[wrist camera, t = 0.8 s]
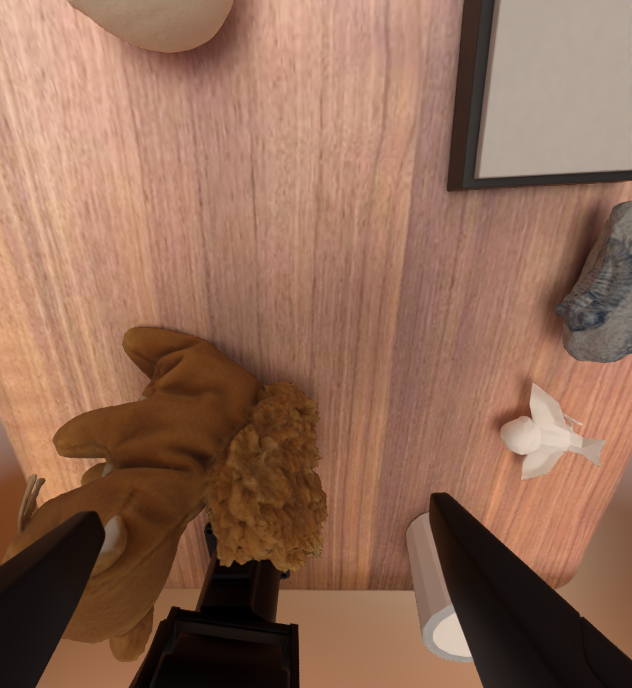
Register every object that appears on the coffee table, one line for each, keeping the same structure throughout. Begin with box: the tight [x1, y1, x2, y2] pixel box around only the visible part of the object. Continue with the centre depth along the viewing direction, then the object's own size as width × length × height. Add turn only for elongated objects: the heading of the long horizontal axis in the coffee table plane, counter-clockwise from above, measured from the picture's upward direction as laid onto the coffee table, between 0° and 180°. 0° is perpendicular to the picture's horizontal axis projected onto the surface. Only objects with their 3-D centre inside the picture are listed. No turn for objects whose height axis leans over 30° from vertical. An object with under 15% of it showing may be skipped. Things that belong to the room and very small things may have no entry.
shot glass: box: [406, 512, 474, 662], centre depth 24 cm, size 7×7×7 cm
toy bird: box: [500, 383, 606, 481], centre depth 21 cm, size 8×5×5 cm, turn 8°
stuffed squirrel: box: [2, 327, 328, 662], centre depth 17 cm, size 10×14×13 cm
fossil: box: [555, 201, 632, 363], centre depth 17 cm, size 8×4×5 cm, turn 176°
